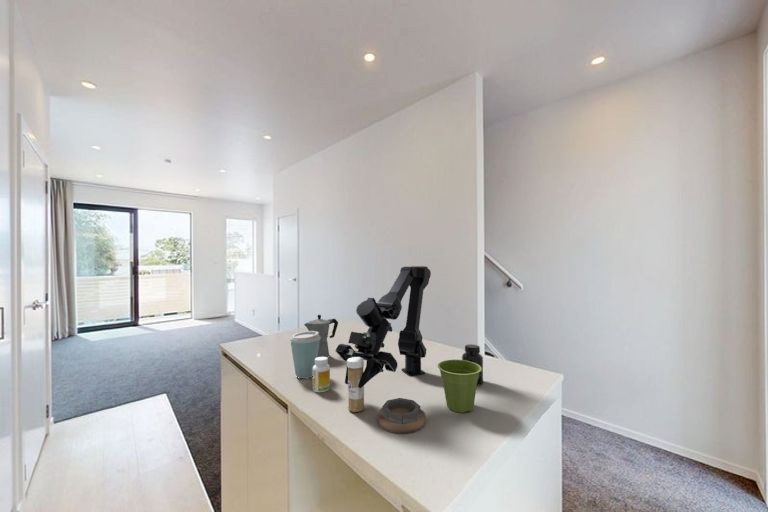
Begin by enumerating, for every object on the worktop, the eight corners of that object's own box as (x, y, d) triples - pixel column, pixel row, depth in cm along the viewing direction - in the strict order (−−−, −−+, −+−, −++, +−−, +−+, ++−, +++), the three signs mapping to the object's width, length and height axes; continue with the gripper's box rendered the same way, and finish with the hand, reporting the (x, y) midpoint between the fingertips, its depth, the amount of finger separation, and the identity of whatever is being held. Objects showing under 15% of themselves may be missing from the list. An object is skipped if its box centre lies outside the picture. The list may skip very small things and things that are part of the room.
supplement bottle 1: (332, 387, 97) (332, 356, 97) (324, 394, 92) (324, 361, 92) (318, 385, 99) (318, 355, 99) (309, 391, 94) (309, 360, 94)
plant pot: (435, 397, 90) (435, 359, 90) (475, 397, 89) (475, 359, 89) (441, 417, 78) (441, 373, 78) (487, 418, 77) (487, 374, 78)
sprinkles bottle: (344, 409, 82) (343, 359, 82) (356, 403, 85) (355, 355, 86) (356, 414, 79) (355, 362, 79) (368, 407, 82) (367, 358, 83)
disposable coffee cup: (297, 384, 100) (297, 338, 100) (284, 375, 108) (284, 332, 108) (325, 376, 107) (326, 333, 107) (311, 368, 115) (311, 328, 115)
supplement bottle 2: (484, 386, 97) (484, 349, 97) (462, 385, 98) (462, 348, 99) (481, 378, 104) (481, 343, 104) (461, 377, 105) (461, 342, 106)
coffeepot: (308, 363, 121) (308, 318, 121) (300, 357, 128) (300, 314, 129) (342, 356, 130) (342, 314, 130) (333, 351, 137) (333, 311, 138)
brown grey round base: (370, 414, 80) (370, 400, 80) (411, 405, 84) (411, 393, 84) (389, 438, 68) (389, 422, 69) (434, 427, 73) (434, 412, 73)
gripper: (339, 316, 91) (312, 364, 82) (391, 323, 81) (367, 378, 71) (355, 337, 98) (332, 383, 88) (406, 345, 87) (386, 399, 78)
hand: (352, 385), depth 81 cm, fingers closed on sprinkles bottle, 4 cm apart
